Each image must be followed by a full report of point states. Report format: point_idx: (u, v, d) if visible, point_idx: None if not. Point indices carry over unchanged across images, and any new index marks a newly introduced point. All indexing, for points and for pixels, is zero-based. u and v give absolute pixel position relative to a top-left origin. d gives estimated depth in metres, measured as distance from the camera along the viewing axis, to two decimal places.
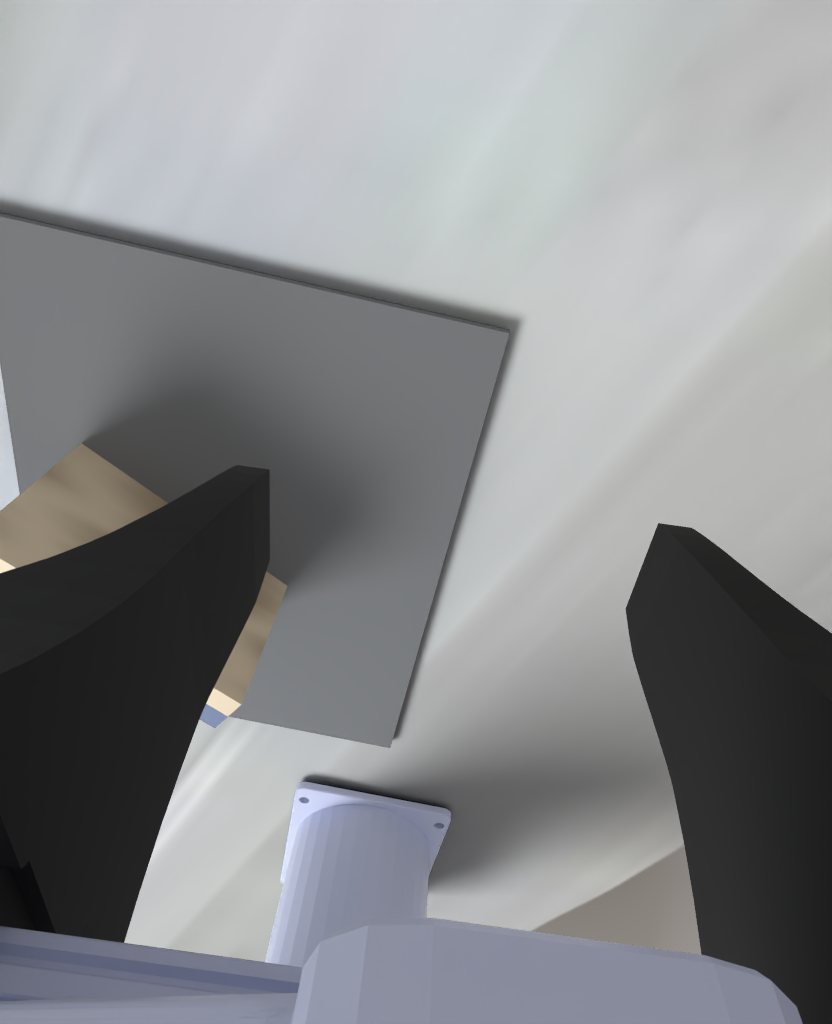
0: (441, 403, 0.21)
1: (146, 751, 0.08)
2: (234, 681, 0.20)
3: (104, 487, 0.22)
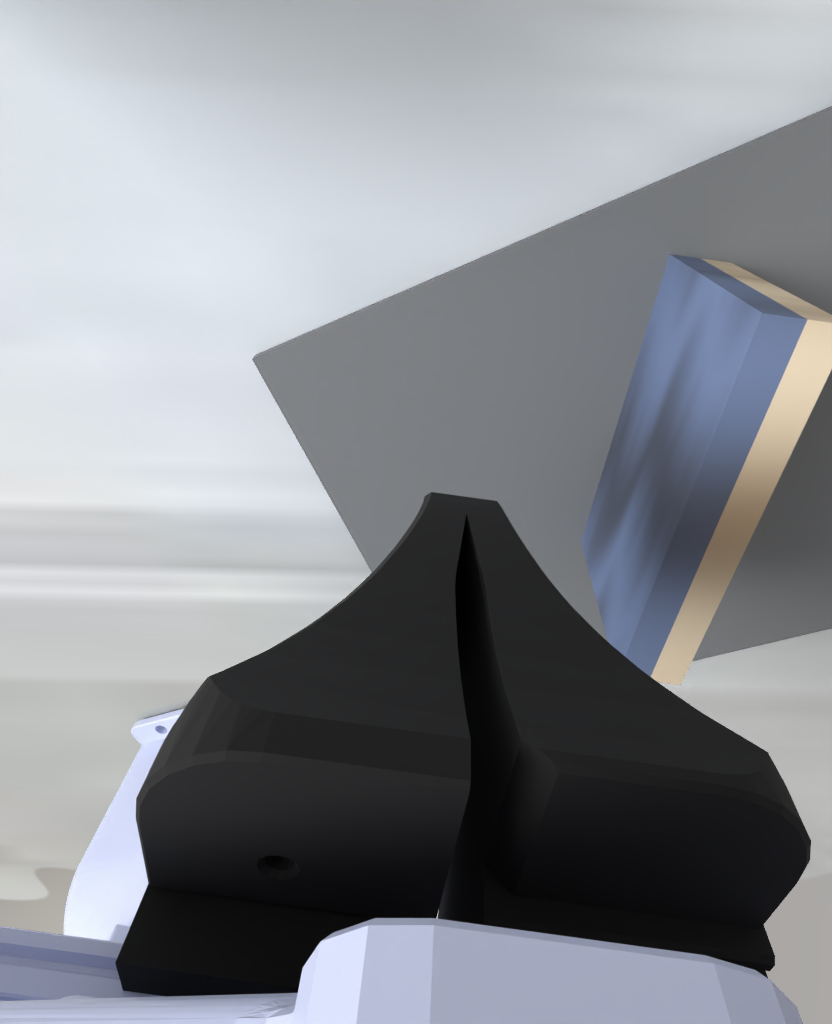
0: None
1: None
2: None
3: None
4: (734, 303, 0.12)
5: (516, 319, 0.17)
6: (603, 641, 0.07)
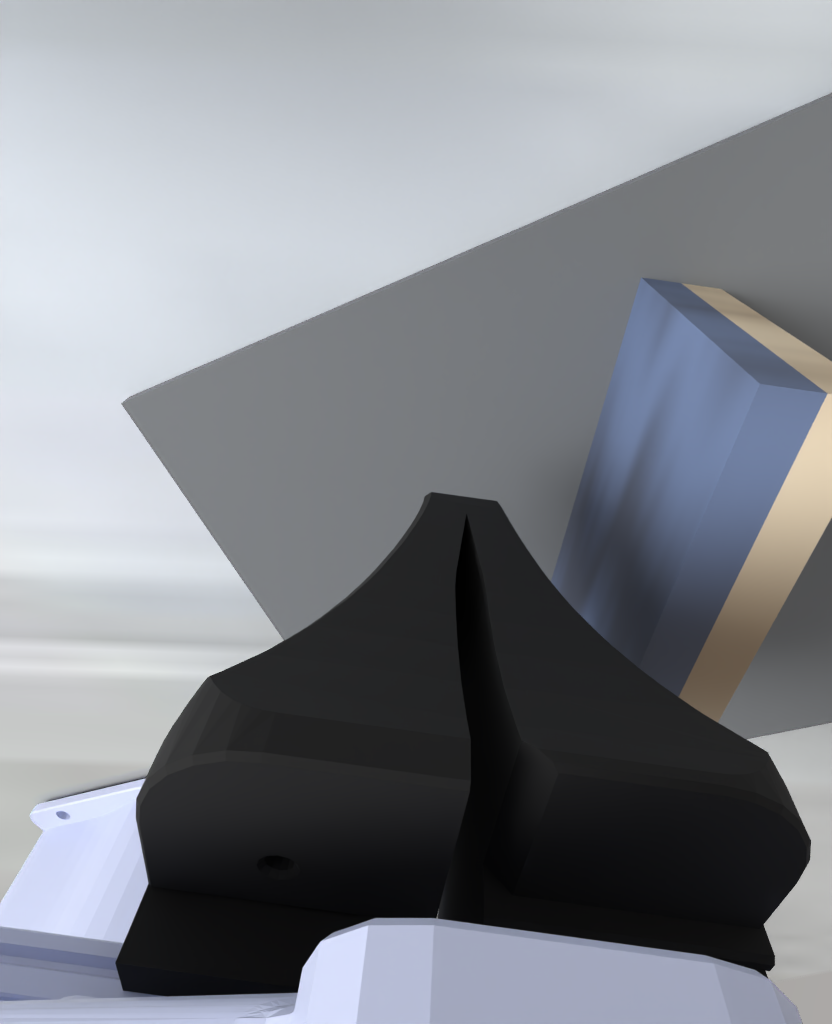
0: None
1: None
2: None
3: None
4: (720, 360, 0.09)
5: (448, 357, 0.14)
6: (603, 641, 0.07)
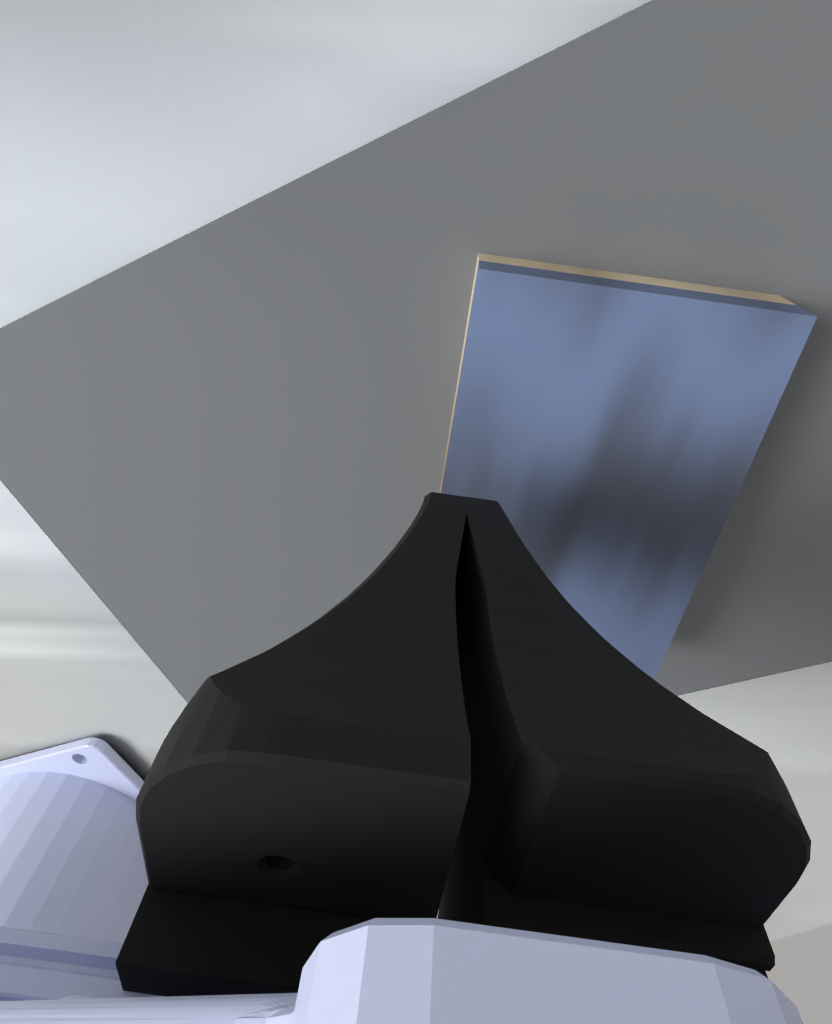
0: (788, 631, 0.17)
1: None
2: None
3: None
4: (745, 314, 0.11)
5: (220, 324, 0.14)
6: (603, 641, 0.07)
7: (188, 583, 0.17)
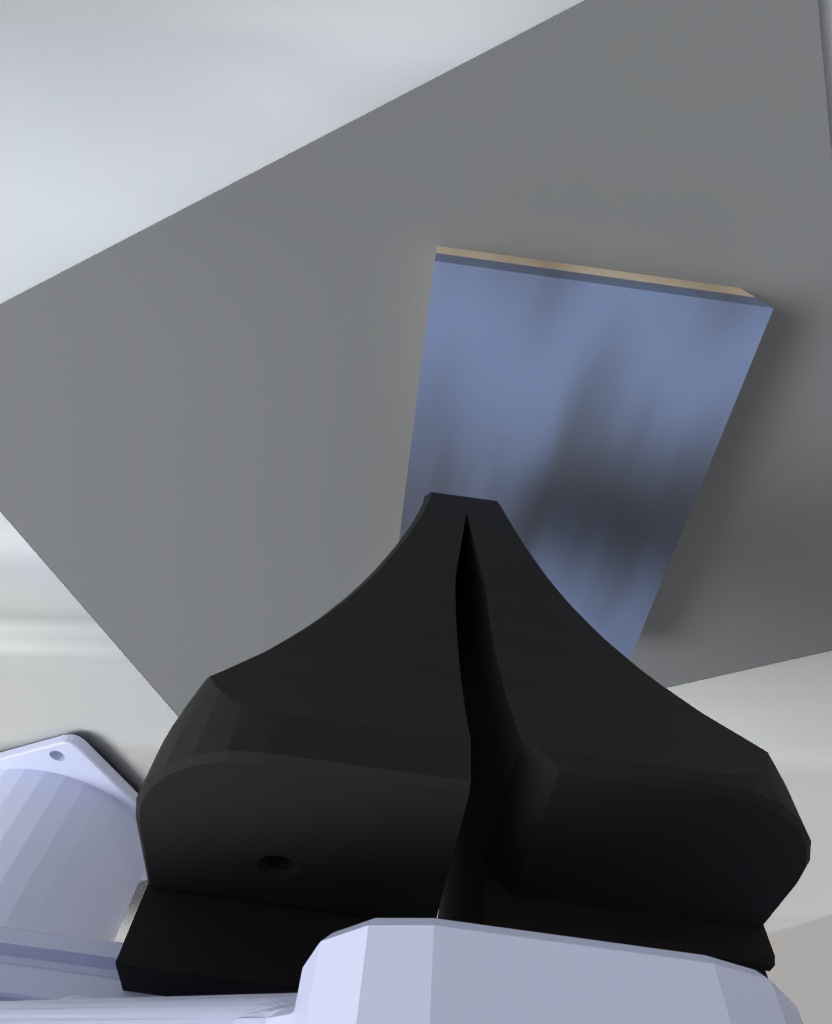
0: (759, 626, 0.17)
1: None
2: None
3: None
4: (702, 305, 0.11)
5: (183, 318, 0.14)
6: (603, 641, 0.07)
7: (160, 579, 0.17)
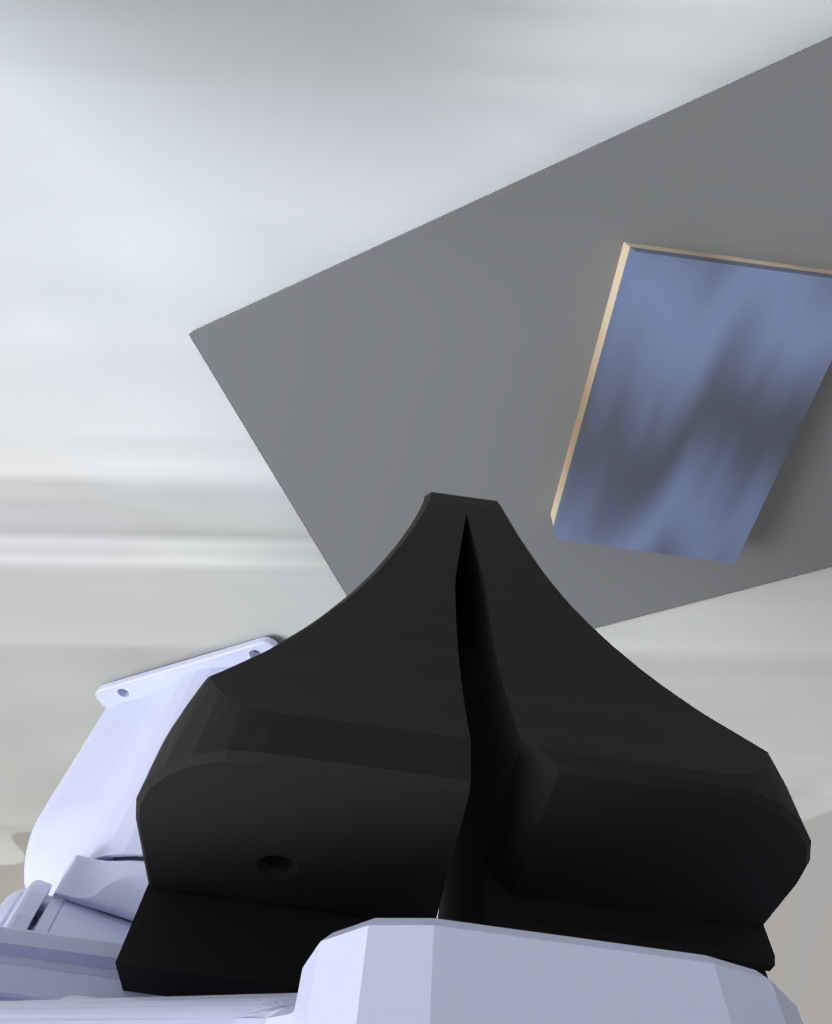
0: None
1: None
2: None
3: None
4: (818, 282, 0.16)
5: (429, 295, 0.19)
6: (603, 641, 0.07)
7: (369, 500, 0.23)
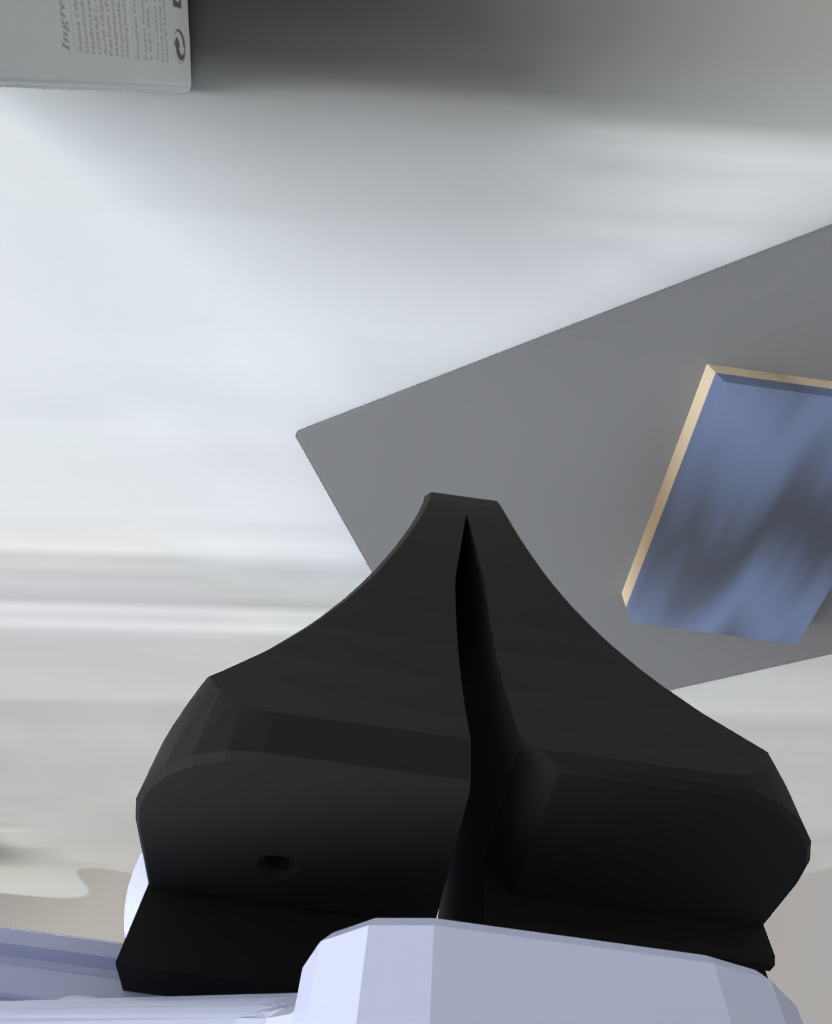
0: None
1: None
2: None
3: None
4: None
5: (522, 406, 0.20)
6: (603, 641, 0.07)
7: None
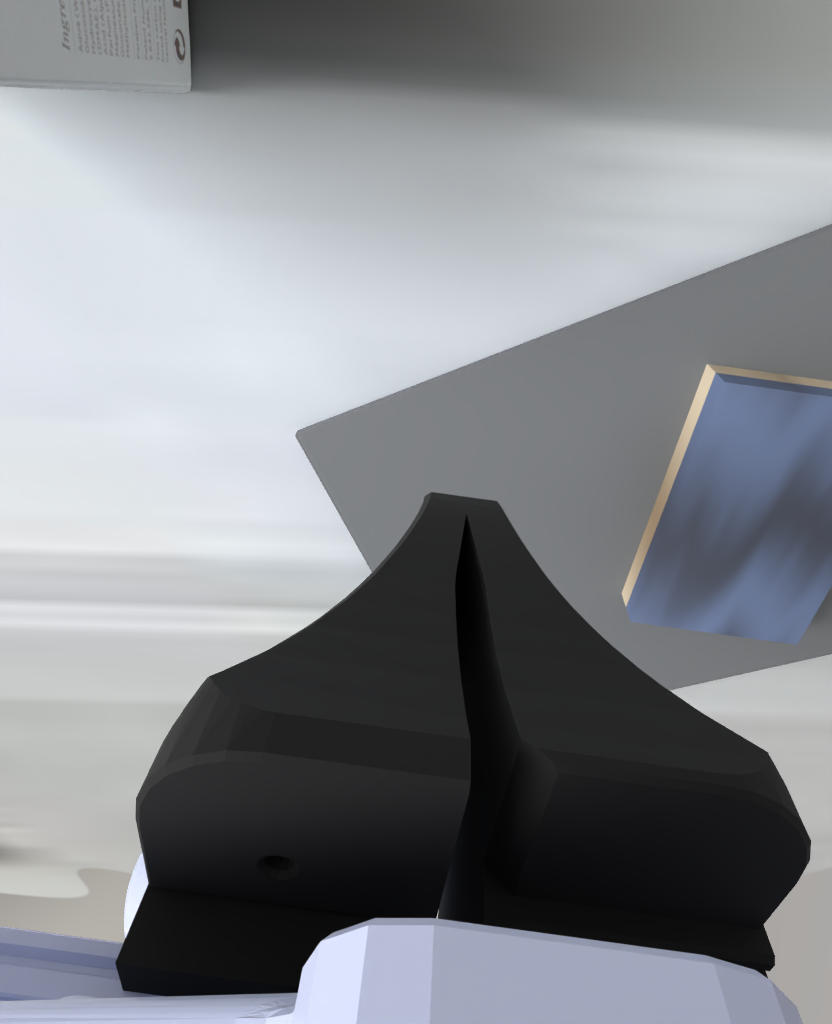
0: None
1: None
2: None
3: None
4: None
5: (522, 406, 0.20)
6: (603, 641, 0.07)
7: None
